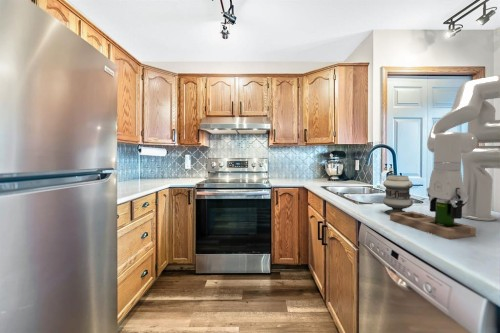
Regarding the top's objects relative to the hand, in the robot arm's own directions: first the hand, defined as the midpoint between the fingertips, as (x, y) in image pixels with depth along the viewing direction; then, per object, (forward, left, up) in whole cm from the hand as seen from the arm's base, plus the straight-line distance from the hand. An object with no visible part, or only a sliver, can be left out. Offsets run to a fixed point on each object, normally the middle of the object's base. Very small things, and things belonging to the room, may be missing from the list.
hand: (444, 214), depth 87 cm
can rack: (-4, -4, -6) cm, 9 cm away
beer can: (0, 0, -6) cm, 6 cm away
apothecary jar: (-23, -14, -6) cm, 28 cm away
